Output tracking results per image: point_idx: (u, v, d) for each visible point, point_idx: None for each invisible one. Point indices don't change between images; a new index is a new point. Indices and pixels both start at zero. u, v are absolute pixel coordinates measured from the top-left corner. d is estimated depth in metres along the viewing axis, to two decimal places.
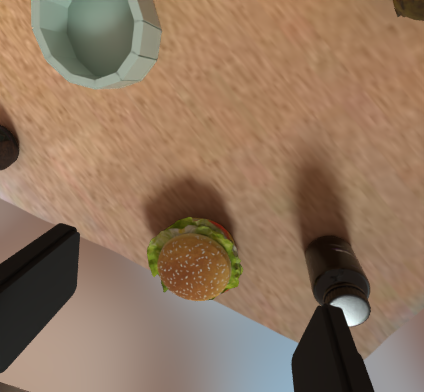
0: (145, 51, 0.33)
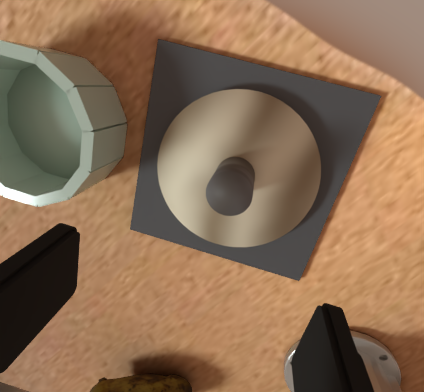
0: None
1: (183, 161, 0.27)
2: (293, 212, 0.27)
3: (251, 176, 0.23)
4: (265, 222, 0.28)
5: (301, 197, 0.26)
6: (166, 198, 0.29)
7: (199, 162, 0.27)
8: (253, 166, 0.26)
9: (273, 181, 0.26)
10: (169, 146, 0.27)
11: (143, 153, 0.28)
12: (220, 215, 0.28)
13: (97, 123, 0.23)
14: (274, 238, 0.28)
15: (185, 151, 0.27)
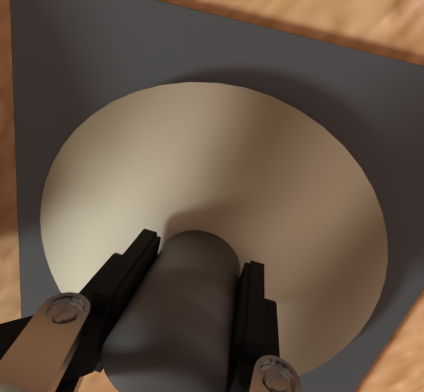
0: None
1: (91, 234, 0.13)
2: (321, 339, 0.13)
3: (227, 300, 0.09)
4: None
5: (339, 313, 0.12)
6: None
7: (124, 239, 0.13)
8: (236, 251, 0.12)
9: (279, 281, 0.12)
10: (58, 205, 0.13)
11: (21, 211, 0.14)
12: None
13: None
14: None
15: (92, 216, 0.13)
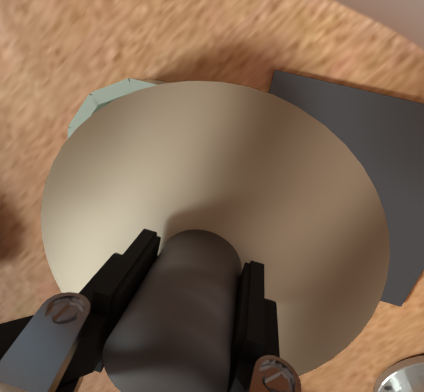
0: None
1: (92, 234, 0.13)
2: (322, 338, 0.13)
3: (228, 299, 0.09)
4: None
5: (340, 313, 0.12)
6: None
7: (124, 238, 0.13)
8: (237, 250, 0.12)
9: (280, 280, 0.12)
10: (59, 204, 0.13)
11: None
12: None
13: None
14: None
15: (93, 215, 0.13)
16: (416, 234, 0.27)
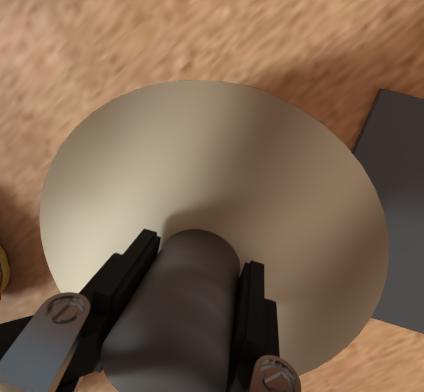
0: None
1: (91, 233, 0.13)
2: (321, 338, 0.13)
3: (227, 299, 0.09)
4: None
5: (340, 313, 0.12)
6: None
7: (123, 238, 0.13)
8: (236, 250, 0.12)
9: (280, 280, 0.12)
10: (58, 204, 0.13)
11: None
12: None
13: None
14: None
15: (92, 215, 0.13)
16: None
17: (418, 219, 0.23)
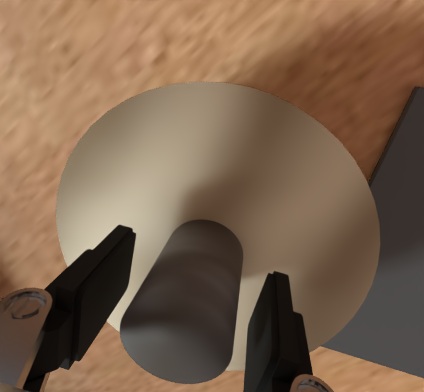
0: None
1: (104, 224, 0.14)
2: (318, 322, 0.14)
3: (232, 280, 0.10)
4: None
5: (335, 297, 0.13)
6: None
7: (134, 228, 0.14)
8: (239, 238, 0.13)
9: (280, 267, 0.13)
10: (74, 196, 0.14)
11: None
12: None
13: None
14: None
15: (105, 206, 0.13)
16: None
17: None
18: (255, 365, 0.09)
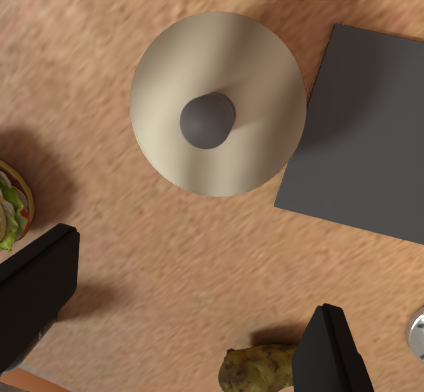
0: None
1: (157, 101, 0.25)
2: (278, 152, 0.25)
3: (230, 107, 0.21)
4: (250, 166, 0.26)
5: (286, 135, 0.24)
6: (142, 146, 0.26)
7: (175, 102, 0.25)
8: (233, 102, 0.24)
9: (255, 118, 0.24)
10: (141, 84, 0.24)
11: None
12: (201, 161, 0.26)
13: None
14: (260, 183, 0.26)
15: (159, 90, 0.24)
16: None
17: (370, 132, 0.29)
18: None
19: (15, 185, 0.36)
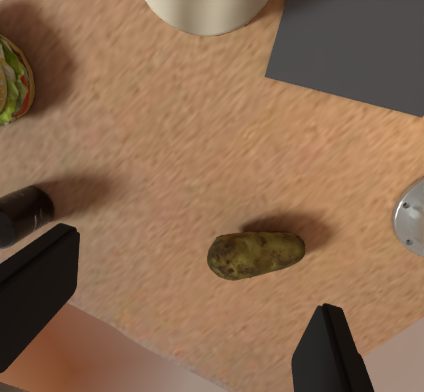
0: None
1: None
2: None
3: None
4: None
5: None
6: None
7: None
8: None
9: None
10: None
11: None
12: None
13: None
14: (248, 17, 0.27)
15: None
16: None
17: None
18: None
19: None
